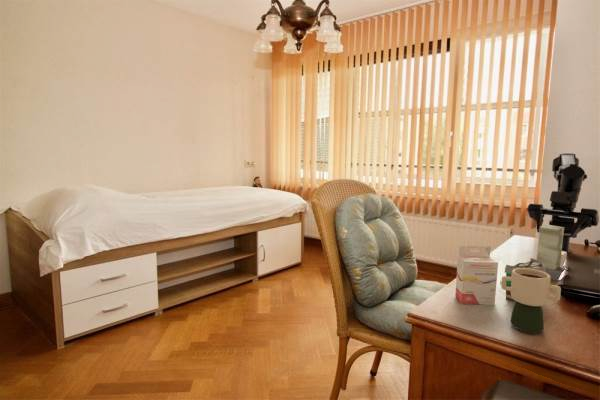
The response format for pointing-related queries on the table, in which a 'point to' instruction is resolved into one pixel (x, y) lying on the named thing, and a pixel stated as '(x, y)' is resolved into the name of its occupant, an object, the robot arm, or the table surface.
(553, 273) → the slate slab
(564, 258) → the ivory cube
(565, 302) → the table surface
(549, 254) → the sage block
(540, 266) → the food container
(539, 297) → the character mug
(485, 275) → the ink cartridge box
